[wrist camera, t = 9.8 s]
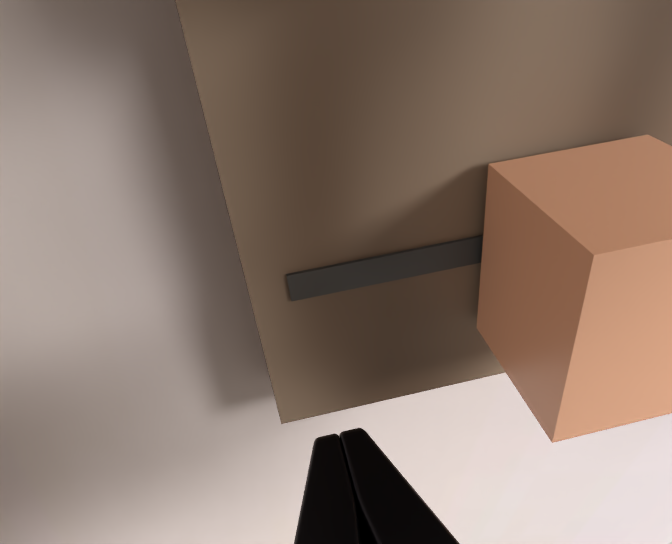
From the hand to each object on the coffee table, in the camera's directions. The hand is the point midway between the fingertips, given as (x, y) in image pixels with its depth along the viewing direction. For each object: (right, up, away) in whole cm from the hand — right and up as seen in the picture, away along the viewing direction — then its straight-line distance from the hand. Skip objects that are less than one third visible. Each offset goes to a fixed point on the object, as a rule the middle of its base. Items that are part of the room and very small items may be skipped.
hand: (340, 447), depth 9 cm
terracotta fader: (+6, +4, +5) cm, 8 cm away
